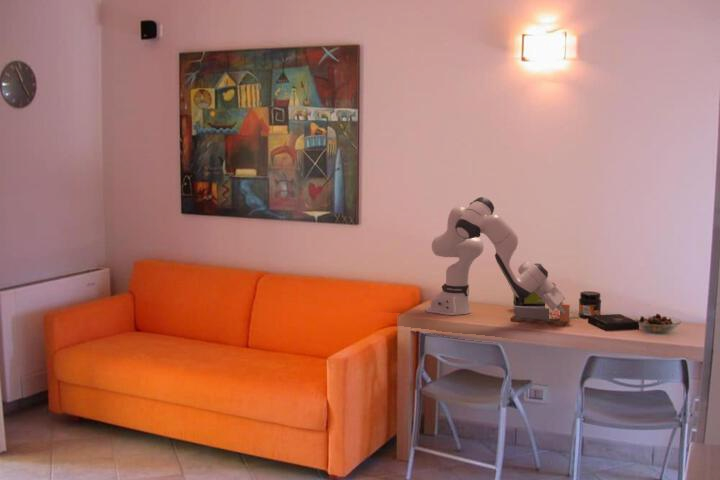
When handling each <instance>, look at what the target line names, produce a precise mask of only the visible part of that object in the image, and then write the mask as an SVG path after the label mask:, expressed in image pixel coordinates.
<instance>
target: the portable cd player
mask: <svg viewBox="0 0 720 480" xmlns="http://www.w3.org/2000/svg"><path fill="white" fill-rule="evenodd" d="M587 324H589V325H591V326H594V327H596V328H598V329H600V330H602V331H605V332H610V331H611V332H612V331H613V332H615V331H632V330H639V329H640V325H639V321H637V320H634V319H632V318H630V317H628V316H625V315H623V314H620V313H614V314H611V313H610V314H601V315H590V316H588V319H587Z"/></svg>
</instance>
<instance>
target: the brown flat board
mask: <svg viewBox="0 0 720 480" xmlns="http://www.w3.org/2000/svg"><path fill="white" fill-rule="evenodd" d="M558 318H559V319H548V320H542V319H532V318H521V317H515V314H514V315H512V316H511V317H510V322H512V323H513V322H515V323H523V322H526V324H533V323H536V324H535V325H543V324H547V325H546V326H553V325H559V326H558V327H564V326H567V325H568V324H569V323H570V320H569V321H568V322H565V321H560V317H558Z"/></svg>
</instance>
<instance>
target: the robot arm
mask: <svg viewBox="0 0 720 480" xmlns="http://www.w3.org/2000/svg"><path fill="white" fill-rule="evenodd" d="M494 211H495V206H494V204H493V202H492V201H491V200H490V199H489V198H487V197H485V196H484V197H483V196H480V197H478V198H476V199H475V200H473V201H471V202H470V203H469V205H468V206H467V207H465V206H460V205H459V206H458V205H457V206H454V207H453V208H452V209H451V210H450V213H449V214H448V218H447V224H446V226H447V227H446V231H445V232H444V233H442V234H440V235H438V236H435V238H434V239H433V240H432V243H431V250H432V252H433V254H434V255H435V256H437V257H443V258H457V259H458V261H456V262H454V263H453V264H450V265H449V266H448V267H447V268H446V270H445V283H443V284H442V286H441V289H442V291H440V292H439V293H437V295H435V296H434V297H432V299H431V301H430V306H428V307H426V309H425V312H427V313H432V314H439V315H440V314H441V315H447V316H457V315H468V314H471V312H472V311H471V308H470V302H469V295H470V285H469V271H470V268H471V266H472V264H473V263H474V261H475V260H476V259H478V257H480V256H481V255H482V253H483V252H484V247H485V246H484V245H485V244H484V242H483V240H482V239H481V238H480V237H481V234H483V235H485V236H486V237H487V238H488V239H489V240H490V242H491V244H493V246H494V249H495V254H494V258H495V260H496V263H497V265H498V267H499V268H500V270H501V272H502V273H503V275H504V277H505V279H506V281H507V282H508V285H509V287H510V289H511V291H512V293H513V295H514V294H515V295H516V296H517V297H518V298H522V299H523V298H528V297H529V295H530V294H531V293H532V292H533V291H535V293H536V294H537V295H538V296H539V297H540V298H543V301H544V302H545V305H546V306H547V307H548V309H549V310H551V311H554V310H555V309H556V310H557V311H559V312H560V311H561V312H562V313H563V314H565V313H566V310H565V309H563V308H562V307H561V305H560V304H561V303H563V304H565V303H564V301H565V299H566V298H565V296H564V294H563V293H562V292H561V291H560V289H558V287H557V285H556V284H555V282H552V281H551V280H550V279H549V278H548V276H549V271H547V270H546V269H545V268H544V266H543V265H542V264H541V263H533V262H532V261H531V260H527V261H525V262H522V264H521V265H520V266H519V267H518V269H517V272H518V274H519V276H518V277H516V275H515V273H514V271H513V270H512V268H511V265H510V263H511V262H510V261H511V259H512V258H513V257H512V256H513V255H514V254H515V251H516V249H517V247H518V243H519V239H518V236H517V234H516V232H515V231H514V229H513V228H512V227H511V226H510V225H509V224H508V222H507V221H506V220H504V219H503V218H502V217H501V216H499V215H498V214H496V213H494Z"/></svg>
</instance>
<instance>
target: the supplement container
mask: <svg viewBox="0 0 720 480" xmlns="http://www.w3.org/2000/svg"><path fill="white" fill-rule="evenodd" d="M579 294H580V298H578V316H579V317H580V318H582V319H587V320H588V316H590V315H602V314H601V310H602V309H601V308H602V299H601V293H600V292H597V291H592V290H591V291H587V290H586V291H581V292H580V293H579Z"/></svg>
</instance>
